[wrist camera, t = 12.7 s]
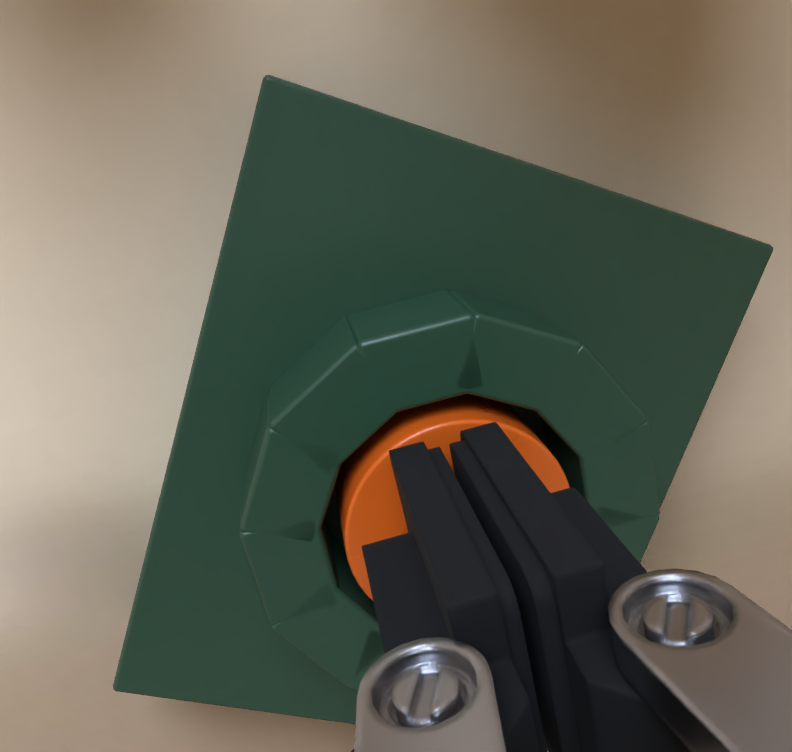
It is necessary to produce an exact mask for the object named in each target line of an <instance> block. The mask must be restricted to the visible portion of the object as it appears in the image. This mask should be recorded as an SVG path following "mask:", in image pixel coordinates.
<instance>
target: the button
mask: <svg viewBox="0 0 792 752" xmlns="http://www.w3.org/2000/svg"><path fill="white" fill-rule="evenodd" d="M492 422H496V423H497V424H498V425H499V426H500V428H501V429H502V430H503V432H504V433H505V434H506V436H507V437H508V438H509V439H510V441H511V442H512V443H513V445H514V446H515V447H516V449H517V450H518V451H519V453H520V454H521V455H522V456H523V458H524V459H525V460H526V462H527V463H528V464H529V466H530V467H531V468H532V470H533V471H534V472H535V473H536V475H537V476H538V477H539V479H540V480H541V481H542V483H543V484H544V485H545V487H546V488H547V489H548V490H549V492H550V493H552V492H556V491H560V490H563V489H567V488H570V487H569V483H568V480H567V478H566V475H565V473H564V471H563V469H562V467H561V466H560V464H559V462H558V461H557V459H556V458H555V457H554V456H553V454H552V453H551V452H550V451H549V449H548V448H547V447H546V446H545V445H544V444H543V443H542V441H541V440H540V439H539V438H538V437H537V436H536V435H535V433H534V432H533V431H532V430H531V429H530V428H529V426H528V425H527V424H526V423H525V422H524V421H523V420H522V418H521V417H520V416H519V415H518V414H517V413H516V412H515V411H514V410H513V409H512V408H511V407H510V406H509V405H508V404H506V403H503V402H499V401H495V400H491V399H487V398H483V397H479V396H475V395H471V394H463V395H460V396H456V397H452V398H448V399H445V400H441V401H437V402H433V403H430V404H426V405H422V406H418V407H415V408H411V409H407V410H403V411H399V412H397V413H396V414H395V415H393V416H392V417H391V418H390V419H389V420H388V421H387V422H386V423H385V424H384V425H383V426H382V427H380V428H379V429H378V430H377V431H376V432H375V433H374V434H373V435H372V436H371V437H370V438H369V439H368V440H366V441H365V442H364V443H363V444H362V445H361V446H360V447H359V448H358V449H357V450H356V451H355V452H353V453H352V454H351V455H350V456H349V457H348V458H347V459H346V460H345V461H344V462H343V463H342V464H341V467H340V470H339V473H338V476H337V479H336V484H335V487H336V500H337V506H338V512H339V517H340V523H341V529H342V535H343V540H344V546H345V551H346V556H347V560H348V563H349V566H350V569H351V571H352V574H353V575H354V577H355V579H356V581H357V583H358V584H359V586H360V587H361V588H362V590H363V591H364V592H365V594H366V595H367V596H368V597H369V598H370V599H371V600H372V601H373V597H372V593H371V588H370V583H369V579H368V574H367V570H366V565H365V560H364V556H363V551H362V546H363V545H367V544H370V543H374V542H377V541H381V540H384V539H388V538H392V537H395V536H399V535H402V534H406V533H408V529H407V525H406V521H405V517H404V513H403V509H402V505H401V501H400V496H399V492H398V488H397V484H396V480H395V476H394V472H393V468H392V464H391V460H390V455H389V450H392V449H396V448H400V447H403V446H407V445H411V444H414V443H418V442H422V441H423V442H424V443H425V445H426V447H427V449H432V448H436V447H440V448H441V450H442V452H443V454H444V456H445V458H446V460H447V461H448V463H449V465H450V467H451V469H452V471H453V473H454V475H455V472H454V467H453V462H452V458H451V453H450V443H454V442H458V441H461V439H460V431H462V430H466V429H470V428H474V427H477V426H481V425H485V424H488V423H492ZM455 477H456V476H455Z"/></svg>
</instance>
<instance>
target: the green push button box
mask: <svg viewBox="0 0 792 752" xmlns="http://www.w3.org/2000/svg"><path fill="white" fill-rule="evenodd" d="M772 251H773V247H772V246H771V245H769V244H767V243H764V242H761V241H758V240H755V239H752V238H749V237H746V236H743V235H740V234H737V233H734V232H731V231H728V230H725V229H722V228H719V227H716V226H713V225H710V224H708V223H705V222H702V221H699V220H696V219H693V218H690V217H687V216H684V215H681V214H678V213H675V212H672V211H669V210H666V209H663V208H660V207H657V206H654V205H651V204H649V203H646V202H643V201H640V200H637V199H634V198H631V197H628V196H625V195H622V194H619V193H616V192H613V191H610V190H607V189H604V188H601V187H598V186H595V185H592V184H590V183H587V182H584V181H581V180H578V179H575V178H572V177H569V176H566V175H563V174H560V173H557V172H554V171H551V170H548V169H545V168H542V167H539V166H536V165H533V164H531V163H528V162H525V161H522V160H519V159H516V158H513V157H510V156H507V155H504V154H501V153H498V152H495V151H492V150H489V149H486V148H483V147H480V146H477V145H474V144H472V143H469V142H466V141H463V140H460V139H457V138H454V137H451V136H448V135H445V134H442V133H439V132H436V131H433V130H430V129H427V128H424V127H421V126H418V125H415V124H413V123H410V122H407V121H404V120H401V119H398V118H395V117H392V116H389V115H386V114H383V113H380V112H377V111H374V110H371V109H368V108H365V107H362V106H359V105H356V104H354V103H351V102H348V101H345V100H342V99H339V98H336V97H333V96H330V95H327V94H324V93H321V92H318V91H315V90H312V89H309V88H306V87H303V86H300V85H297V84H295V83H292V82H289V81H286V80H283V79H280V78H277V77H274V76H271V75H266V76H265V77H264V78H263V81H262V85H261V89H260V93H259V97H258V101H257V105H256V110H255V114H254V118H253V122H252V126H251V130H250V134H249V138H248V142H247V146H246V150H245V154H244V158H243V162H242V166H241V170H240V174H239V178H238V182H237V186H236V190H235V194H234V199H233V203H232V207H231V211H230V215H229V219H228V223H227V227H226V231H225V235H224V239H223V243H222V247H221V251H220V255H219V259H218V263H217V267H216V271H215V275H214V279H213V284H212V288H211V292H210V296H209V300H208V304H207V308H206V312H205V316H204V320H203V324H202V328H201V332H200V336H199V340H198V344H197V348H196V352H195V356H194V360H193V364H192V369H191V373H190V377H189V381H188V385H187V389H186V393H185V397H184V401H183V405H182V409H181V413H180V417H179V421H178V425H177V429H176V433H175V437H174V441H173V445H172V449H171V454H170V458H169V462H168V466H167V470H166V474H165V478H164V482H163V486H162V490H161V494H160V498H159V502H158V506H157V510H156V514H155V518H154V522H153V526H152V530H151V534H150V539H149V543H148V547H147V551H146V555H145V559H144V563H143V567H142V571H141V575H140V579H139V583H138V587H137V591H136V595H135V599H134V603H133V607H132V611H131V615H130V619H129V623H128V628H127V632H126V636H125V640H124V644H123V648H122V652H121V656H120V660H119V664H118V668H117V672H116V676H115V680H114V684H113V688H114V690H115V691H119V692H126V693H133V694H141V695H148V696H155V697H162V698H170V699H177V700H184V701H191V702H199V703H206V704H213V705H220V706H228V707H235V708H242V709H249V710H257V711H264V712H271V713H278V714H286V715H293V716H300V717H307V718H315V719H322V720H329V721H336V722H344V723H351V724H356V705H357V694H358V690H359V686H360V682H361V680H362V678H363V677H364V675H365V674H366V672H367V671H368V669H369V668H370V666H371V665H372V664H373V663H375V662H376V661H377V660H378V659H379V658H380V657H381V656H382V655H383V654H385V653H384V648H383V643H382V639H381V634H380V630H379V625H378V620H377V616H376V611H375V607H374V602H373V601H372V600H371V599H370V598H369V597H368V596H367V595H366V594H365V592H364V591H363V590H362V588H361V587H360V586H359V584H358V583H357V581H356V579H355V577H354V575H353V574H352V571H351V569H350V566H349V563H348V560H347V556H346V551H345V546H344V540H343V535H342V529H341V523H340V517H339V512H338V506H337V500H336V487H335V484H336V479H337V476H338V473H339V470H340V467H341V464H342V463H343V462H344V461H345V460H346V459H347V458H348V457H349V456H350V455H351V454H352V453H353V452H355V451H356V450H357V449H358V448H359V447H360V446H361V445H362V444H363V443H364V442H365V441H366V440H368V439H369V438H370V437H371V436H372V435H373V434H374V433H375V432H376V431H377V430H378V429H379V428H380V427H382V426H383V425H384V424H385V423H386V422H387V421H388V420H389V419H390V418H391V417H392V416H393V415H395V414H396V413H397V412H399V411H403V410H407V409H411V408H415V407H418V406H422V405H426V404H430V403H433V402H437V401H441V400H445V399H448V398H452V397H456V396H460V395H463V394H471V395H475V396H479V397H483V398H487V399H491V400H495V401H499V402H503V403H506V404H508V405H509V406H510V407H511V408H512V409H513V410H514V411H515V412H516V413H517V414H518V415H519V416H520V417H521V418H522V420H523V421H524V422H525V423H526V424H527V425H528V426H529V428H530V429H531V430H532V431H533V432H534V433H535V435H536V436H537V437H538V438H539V439H540V440H541V441H542V443H543V444H544V445H545V446H546V447H547V448H548V449H549V451H550V452H551V453H552V454H553V456H554V457H555V458H556V459H557V461H558V462H559V464H560V466H561V467H562V469H563V471H564V473H565V475H566V478H567V480H568V483H569V487H573V488H575V489H576V490H578V491H579V492H580V493H581V495H582V496H583V497H584V498H585V499H586V500H587V502H588V503H589V504H590V505H591V506H592V508H593V509H594V510H595V511H596V512H597V513H598V515H599V516H600V517H601V518H602V519H603V521H604V522H605V523H606V524H607V525H608V526H609V528H610V529H611V530H612V531H613V532H614V534H615V535H616V536H617V537H618V538H619V539H620V541H621V542H622V543H623V544H624V545H625V547H626V548H627V549H628V550H629V551H630V552H631V554H632V555H633V556H634V557H635V558H636V560H637V561H638V562H639V563H640V561H641V559H642V557H643V555H644V552H645V550H646V548H647V545H648V543H649V541H650V539H651V536H652V534H653V532H654V530H655V527H656V525H657V523H658V520H659V516H658V515H659V513H660V512H659V509H660V507H661V504H662V502H663V500H664V498H665V495H666V493H667V491H668V488H669V486H670V484H671V482H672V479H673V477H674V475H675V472H676V470H677V468H678V466H679V463H680V461H681V459H682V457H683V454H684V452H685V450H686V447H687V445H688V443H689V441H690V438H691V436H692V434H693V431H694V429H695V427H696V425H697V422H698V420H699V418H700V415H701V413H702V411H703V409H704V406H705V404H706V402H707V399H708V397H709V395H710V393H711V390H712V388H713V386H714V383H715V381H716V379H717V377H718V374H719V372H720V370H721V368H722V365H723V363H724V361H725V358H726V356H727V354H728V352H729V349H730V347H731V345H732V342H733V340H734V338H735V336H736V333H737V331H738V329H739V326H740V324H741V322H742V320H743V317H744V315H745V313H746V310H747V308H748V306H749V304H750V301H751V299H752V297H753V294H754V292H755V290H756V288H757V285H758V283H759V281H760V278H761V276H762V274H763V272H764V269H765V267H766V265H767V263H768V260H769V258H770V256H771V253H772ZM546 748H547V747H546ZM547 751H548V749H547Z"/></svg>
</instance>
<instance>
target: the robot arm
mask: <svg viewBox="0 0 792 752" xmlns="http://www.w3.org/2000/svg"><path fill="white" fill-rule="evenodd" d="M460 439H461V441H458V442H454V443H450V453H451V458H452V462H453V467H454V472H455V475H454V473H453V471H452V469H451V467H450V465H449V463H448V461H447V460H446V458H445V456H444V454H443V452H442V450H441V448H440V447H436V448H432V449H427V447H426V445H425V443H424V442H423V441H422V442H418V443H414V444H411V445H407V446H403V447H400V448H396V449H392V450H389V455H390V460H391V464H392V468H393V472H394V476H395V480H396V484H397V488H398V492H399V496H400V501H401V505H402V509H403V513H404V517H405V521H406V525H407V529H408V533H406V534H402V535H399V536H395V537H392V538H388V539H384V540H381V541H377V542H374V543H370V544H367V545H363V546H362V551H363V556H364V560H365V565H366V570H367V574H368V579H369V583H370V588H371V593H372V597H373V602H374V607H375V611H376V616H377V620H378V625H379V630H380V634H381V639H382V643H383V648H384V653H385V654H383V655H382V656H381V657H380V658H379V659H378V660H377V661H376V662H375V663H373V664H372V665H371V666H370V668H369V669H368V671H367V672H366V674H365V675H364V677H363V678H362V680H361V682H360V686H359V690H358V694H357V705H356V725H355V745H354V749H353V750H352V751H351V752H547V749H548V751H549V752H792V630H791V629H790V628H788V627H787V626H786V625H784V624H783V623H782V622H780V621H779V620H778V619H776V618H775V617H774V616H772V615H771V614H770V613H768V612H767V611H765V610H764V609H763V608H761V607H760V606H759V605H757V604H756V603H755V602H753V601H752V600H751V599H749V598H748V597H747V596H745V595H744V594H743V593H741V592H740V591H739V590H737V589H736V588H734V587H733V586H732V585H730V584H728V583H726V582H724V581H723V580H721V579H719V578H717V577H715V576H712V575H709V574H705V573H702V572H699V571H694V570H684V569H665V570H655V571H651V572H648V573H647V571H646V570H645V569H644V568H643V567H642V565H641V564H640V563H639V562H638V561H637V560H636V558H635V557H634V556H633V555H632V554H631V552H630V551H629V550H628V549H627V548H626V547H625V545H624V544H623V543H622V542H621V541H620V539H619V538H618V537H617V536H616V535H615V534H614V532H613V531H612V530H611V529H610V528H609V526H608V525H607V524H606V523H605V522H604V521H603V519H602V518H601V517H600V516H599V515H598V513H597V512H596V511H595V510H594V509H593V508H592V506H591V505H590V504H589V503H588V502H587V500H586V499H585V498H584V497H583V496H582V495H581V493H580V492H579V491H578V490H576V489H575V488H573V487H570V488H567V489H563V490H560V491H556V492H552V493H550V492H549V490H548V489H547V488H546V487H545V485H544V484H543V483H542V481H541V480H540V479H539V477H538V476H537V475H536V473H535V472H534V471H533V470H532V468H531V467H530V466H529V464H528V463H527V462H526V460H525V459H524V458H523V456H522V455H521V454H520V453H519V451H518V450H517V449H516V447H515V446H514V445H513V443H512V442H511V441H510V439H509V438H508V437H507V436H506V434H505V433H504V432H503V430H502V429H501V428H500V426H499V425H498V424H497V423H496V422H492V423H488V424H485V425H481V426H477V427H474V428H470V429H466V430H462V431H460ZM455 476H456V477H455ZM546 747H547V748H546Z"/></svg>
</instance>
